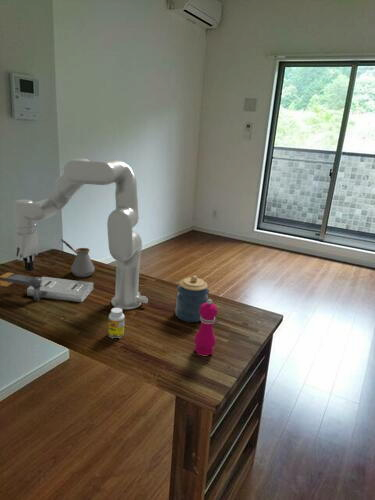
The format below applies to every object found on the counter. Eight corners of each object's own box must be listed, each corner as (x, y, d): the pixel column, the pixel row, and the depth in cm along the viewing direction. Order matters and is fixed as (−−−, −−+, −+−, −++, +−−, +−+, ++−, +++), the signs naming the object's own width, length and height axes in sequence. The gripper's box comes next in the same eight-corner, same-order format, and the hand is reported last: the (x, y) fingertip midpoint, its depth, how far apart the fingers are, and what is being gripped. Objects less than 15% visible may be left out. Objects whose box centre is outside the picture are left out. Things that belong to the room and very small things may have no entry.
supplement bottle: (104, 335, 134) (105, 309, 131) (117, 329, 138) (117, 304, 135) (114, 341, 130) (115, 315, 127) (127, 335, 134) (128, 310, 131)
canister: (209, 311, 158) (213, 273, 152) (202, 326, 146) (206, 284, 140) (180, 306, 161) (183, 267, 155) (170, 319, 149) (173, 278, 143)
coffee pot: (99, 274, 187) (100, 245, 182) (82, 280, 177) (82, 251, 173) (70, 263, 197) (69, 236, 192) (52, 269, 187) (51, 241, 183)
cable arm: (44, 287, 155) (44, 277, 154) (37, 292, 151) (37, 281, 149) (8, 281, 158) (7, 271, 157) (0, 285, 154) (-1, 275, 152)
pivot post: (41, 299, 156) (41, 285, 154) (38, 301, 154) (38, 287, 152) (36, 298, 156) (35, 284, 154) (33, 300, 154) (32, 287, 152)
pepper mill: (213, 346, 133) (219, 295, 126) (215, 358, 126) (221, 304, 120) (193, 345, 132) (198, 294, 126) (194, 357, 125) (199, 303, 119)
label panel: (93, 288, 170) (93, 282, 169) (82, 302, 157) (82, 294, 155) (42, 282, 172) (42, 275, 170) (27, 295, 158) (26, 288, 157)
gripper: (31, 224, 164) (34, 263, 170) (5, 232, 151) (9, 274, 156) (45, 226, 162) (48, 266, 167) (19, 234, 148) (23, 277, 154)
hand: (29, 270), depth 162 cm, fingers closed
